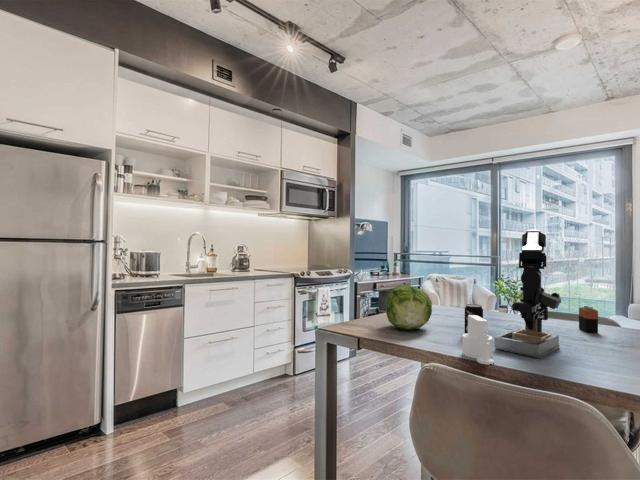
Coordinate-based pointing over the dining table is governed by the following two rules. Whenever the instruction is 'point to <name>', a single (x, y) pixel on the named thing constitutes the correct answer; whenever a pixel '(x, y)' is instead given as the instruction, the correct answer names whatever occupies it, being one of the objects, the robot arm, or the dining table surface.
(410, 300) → the lettuce
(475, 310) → the beverage can
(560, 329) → the dining table surface
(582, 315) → the battery
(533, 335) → the box
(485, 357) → the chess piece
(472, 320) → the white stepped block
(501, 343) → the bay
